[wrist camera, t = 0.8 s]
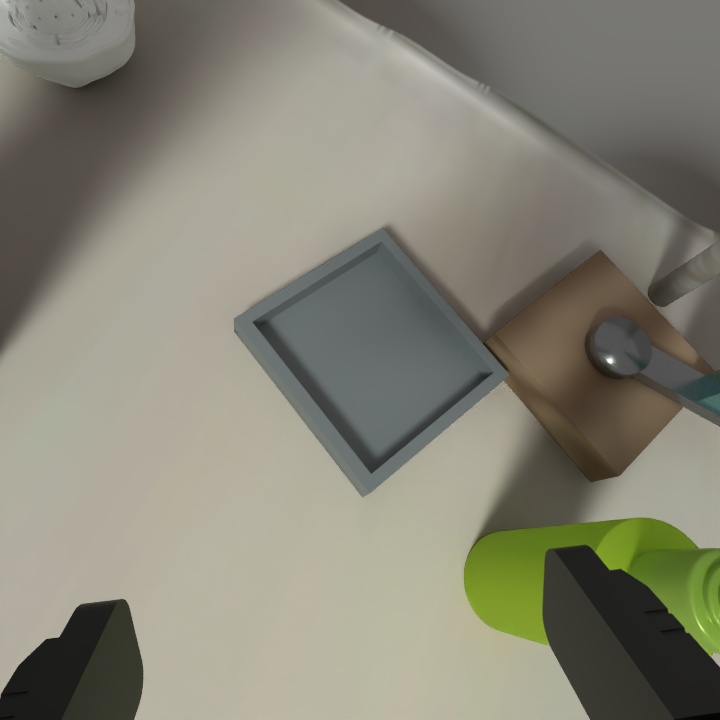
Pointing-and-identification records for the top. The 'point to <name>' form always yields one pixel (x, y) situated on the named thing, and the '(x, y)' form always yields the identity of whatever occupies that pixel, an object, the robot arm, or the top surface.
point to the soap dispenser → (617, 551)
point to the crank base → (577, 374)
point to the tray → (369, 358)
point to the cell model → (68, 37)
